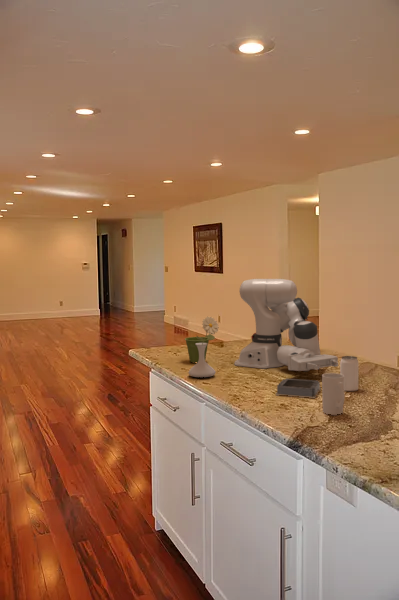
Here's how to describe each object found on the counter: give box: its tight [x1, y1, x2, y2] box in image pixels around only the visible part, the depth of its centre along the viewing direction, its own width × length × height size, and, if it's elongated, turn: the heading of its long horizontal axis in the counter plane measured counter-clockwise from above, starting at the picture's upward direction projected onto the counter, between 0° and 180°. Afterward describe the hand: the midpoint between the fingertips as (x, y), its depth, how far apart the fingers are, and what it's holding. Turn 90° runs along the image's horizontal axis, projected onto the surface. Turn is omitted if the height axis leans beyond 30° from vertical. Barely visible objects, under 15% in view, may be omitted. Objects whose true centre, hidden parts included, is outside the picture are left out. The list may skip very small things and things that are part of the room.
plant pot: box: [184, 336, 210, 364], centre depth 254 cm, size 12×12×11 cm
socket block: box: [275, 378, 322, 399], centre depth 198 cm, size 14×14×3 cm
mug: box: [321, 372, 345, 416], centre depth 171 cm, size 10×7×12 cm, turn 15°
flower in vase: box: [188, 316, 219, 379], centre depth 225 cm, size 13×11×25 cm
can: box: [339, 355, 359, 392], centre depth 200 cm, size 6×6×12 cm
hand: (327, 365), depth 211 cm, fingers open, 8 cm apart
